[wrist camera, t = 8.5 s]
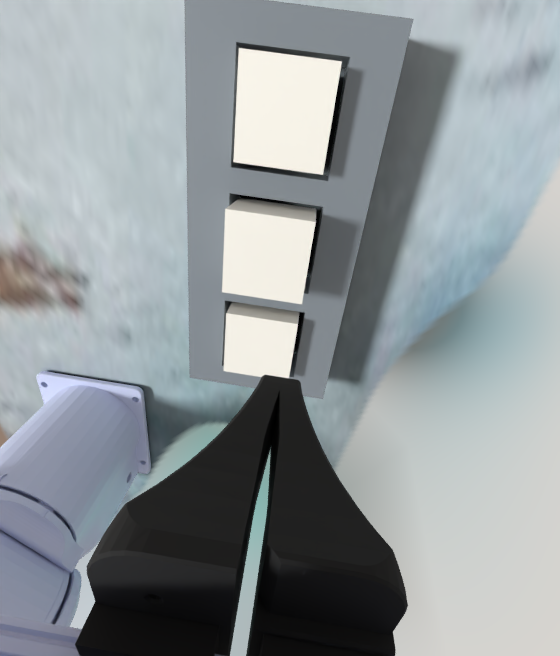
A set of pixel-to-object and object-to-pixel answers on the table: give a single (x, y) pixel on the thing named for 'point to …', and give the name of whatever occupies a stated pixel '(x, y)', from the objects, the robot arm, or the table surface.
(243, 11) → the button board
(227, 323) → the button
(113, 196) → the table surface
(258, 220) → the middle button
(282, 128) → the button
